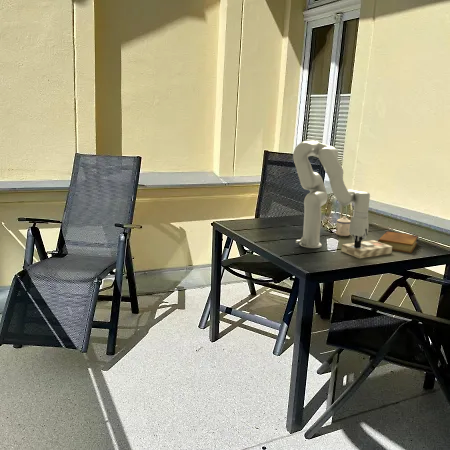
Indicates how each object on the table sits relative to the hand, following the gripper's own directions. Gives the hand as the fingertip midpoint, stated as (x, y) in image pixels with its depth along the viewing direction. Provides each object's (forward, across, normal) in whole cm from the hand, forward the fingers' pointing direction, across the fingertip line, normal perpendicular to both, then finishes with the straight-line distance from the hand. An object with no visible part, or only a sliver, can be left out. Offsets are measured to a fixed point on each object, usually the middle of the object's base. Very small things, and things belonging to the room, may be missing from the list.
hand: (357, 247), depth 242 cm
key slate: (+3, 0, 0) cm, 3 cm away
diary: (+4, -3, +35) cm, 36 cm away
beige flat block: (+4, 0, +7) cm, 8 cm away
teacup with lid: (+4, -35, +21) cm, 41 cm away
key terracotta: (+3, 0, +15) cm, 15 cm away
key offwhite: (+1, 0, +7) cm, 8 cm away
